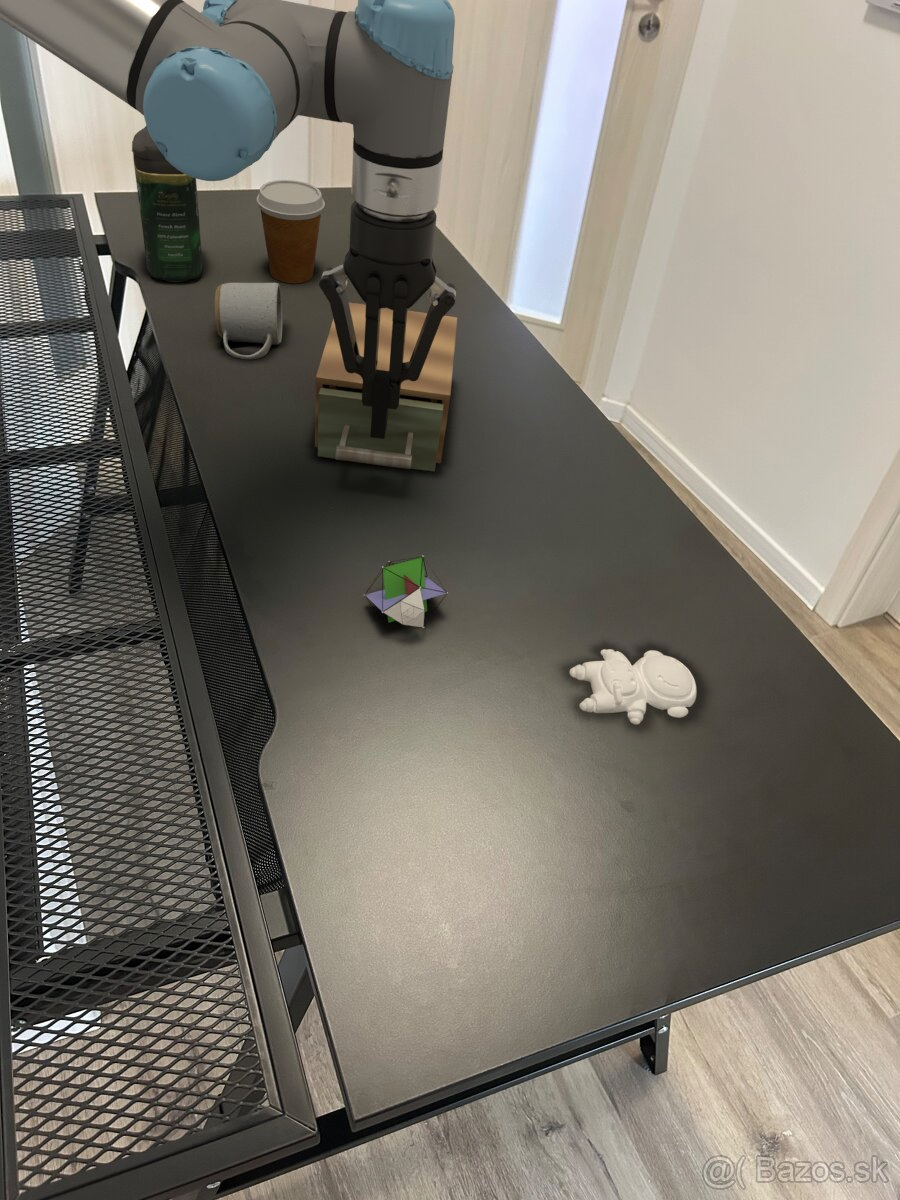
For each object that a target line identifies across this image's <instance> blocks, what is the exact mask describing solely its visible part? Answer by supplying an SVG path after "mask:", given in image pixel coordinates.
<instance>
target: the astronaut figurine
mask: <svg viewBox="0 0 900 1200" xmlns="http://www.w3.org/2000/svg"><path fill="white" fill-rule="evenodd" d="M600 655H601V656H602V658H603V660H595V661H594V660H593V661H592V660H591V661H585V662H583V663H582V664H577V665H575V666H573V667H572V668H570V669H569V675H570V676H571V677H572V678H575V679H576V680H579V681H584V682H588V683H590V688H591V691H592V694H591V695H590V697H585V698H584V699H583V701H581V702H580V703H579V709H581V710H582V711H583V712H587V713H594V714H614V713H616V714H617V713H623V712H626V713H627V718H628V720H629V722H630V723H631V724H632V725H640V724H641V722H642V721H643V720H644V716H645V714H646V711H647V704H648V705H650V706H651V707H653V708H654V709H655V708H656V709H658V710H661V711H665V710H666V711H667V714H668V715H669V716H671V717H673V718H680V719H681V718H684V717H686V716H687V715H688V714H689V709H688V708H690V707H692V706H693V705H694V703H695V702H696V699H697V685H696V684H697V683H696V680H695V678H694V676H693V674H692V672H691V670H690V669H689V668H688V667H687V666H686V665H685V664H683V663H682V662H681V661H679V660H678V659H677V658H675V657H673V656H668V655H664V654H663V653H662V652H661V651H658V650H653V649H651V650H647V651H645V653H643V657H641V658H639V659H637V661H636V662H635V663H633V665H632V664H631V661H630V660H629V659H628V658H627V657H626V655H624V654H623V653H622V652H621V651H618V650H616V651H615V650H614V649H612V648H611V649H610V648H608V649H605V648H604V649H601V650H600Z"/></svg>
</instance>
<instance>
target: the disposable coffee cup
mask: <svg viewBox="0 0 900 1200" xmlns="http://www.w3.org/2000/svg"><path fill="white" fill-rule="evenodd" d="M256 203H257V204H258V207H259V209H260V215H261V222H262V228H263V234H264V241H265V247H266V253H267V259H268V267H269V272H270V275H271V277H273V278H274V279H276V280H277V281H279V282H281V283H282V282H283V283H288V284H301V283H305V282H309V281H310V280H311V279H312V278H313V276H314V267H315V261H316V253H317V246H318V239H319V232H320V224H321V223H320V222H321V217H322V213H323V210H324V209H325V205H326V203H325V200H324V199H323V195H322V191H321V190H320V189H319V188H318V187H317V186H315V185H313V184H310V183H307V182H304V181H301V180H300V181H299V180H293V179H278V180H271V181H267V182H265V183H263V184H262V185H261V186H260V187H259V193H258V194H257V196H256Z"/></svg>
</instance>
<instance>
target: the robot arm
mask: <svg viewBox="0 0 900 1200" xmlns="http://www.w3.org/2000/svg"><path fill="white" fill-rule="evenodd" d="M0 20H1V21H2V22H4V23H5V24H6V25H8V26H9V27H11V28H13V29H14V30H15V31H17V32H19V33H20V34H22V35H23V36H24V37H26V38H28V39H29V40H31V41H32V42H34V43H35V44H36V45H38V46H40V47H41V48H43V49H44V50H46V51H47V52H49V53H51V54H52V55H53V56H55V57H57V58H58V59H59V60H61V61H63V62H64V63H66V64H67V65H68V66H70V67H71V68H72V69H75V70H76V71H78V72H79V73H80V74H82V75H84V76H85V77H87V78H88V79H89V80H91V81H92V82H94V83H96V84H98V86H100V87H101V88H103V89H105V90H106V91H107V92H109V93H111V94H112V95H114V96H115V97H117V98H118V99H120V100H121V101H123V102H124V103H126V104H127V105H129V106H130V107H131V108H132V109H134V110H136V112H138V113H140V114H141V115H142V116H143V118H144V122H145V126H147V129H148V132H149V134H150V136H151V138H152V140H153V142H154V143H155V144H156V145H157V147H158V148H159V150H160V151H161V153H162V154H163V155H164V156H165V159H166V160H167V161H168V162H169V163H170V164H171V165H172V166H174V167H175V168H176V169H178V170H179V171H181V172H182V173H184V174H186V175H188V176H190V177H193V178H196V180H200V181H205V182H221V181H224V180H225V181H226V180H229V179H230V178H233V177H235V176H237V175H238V174H240V173H241V172H243V171H244V170H246V169H247V168H248V167H250V166H253V164H255V163H256V162H259V161H260V160H261V158H262V157H263V155H264V154H265V153H266V152H267V151H269V150H270V148H271V147H272V145H273V142H274V141H275V140H276V138H278V136H279V135H280V134H281V133H282V132H283V131H285V130H286V129H287V128H288V127H289V126H290V124H292V122H294V120H295V119H296V118H297V117H298V116H299V117H300V116H301V117H308V118H311V119H316V120H317V119H318V120H323V121H324V120H325V121H329V122H335V123H340V124H341V123H345V124H346V123H347V124H350V125H352V130H353V131H352V132H353V138H352V166H351V188H350V189H351V191H350V193H351V197H352V199H353V200H354V201H353V202H352V203H351V204H350V219H349V220H350V221H349V249H348V251H347V253H346V255H345V256H344V260H343V262H342V264H340V265H338V266H336V267H334V268H332V267H330V266H327V267H325V268H324V269H323V271H322V274H321V276H320V280H319V283H318V285H319V288H320V290H321V291H322V293H323V295H324V296H325V298H326V299H327V301H328V302H329V305H330V309H331V314H332V320H333V319H334V323H335V327H336V332H337V336H338V340H339V345H340V349H341V353H342V358H343V362H344V366H345V370H346V371H347V372H348V373H356V374H358V375H360V376H361V377H362V379H363V387H362V403H363V406H371V407H372V419H371V435H370V437H372V438H380V439H384V438H385V433H386V427H387V417H388V409H397V407H398V406H399V400H400V390H401V383H402V382H403V381H405V380H410V381H416V380H418V378H419V376H420V373H421V371H422V368H423V366H424V363H425V360H426V358H427V355H428V353H429V350H430V348H431V345H432V343H433V340H434V337H435V335H436V332H437V330H438V327H439V325H440V322H441V320H442V318H443V317H444V316H446V315H447V313H448V312H450V310H451V309H452V308H453V307H454V306H455V304H456V298H457V287H456V285H455V284H453V283H445V282H444V281H443V280H442V279H441V278H439V277H438V276H437V268H436V265H435V263H434V260H433V254H434V245H435V234H436V226H437V213H436V211H435V209H436V208H437V206H438V204H439V198H440V191H441V189H440V187H441V179H442V172H443V171H442V170H443V161H444V147H445V138H446V129H447V120H448V111H449V104H450V97H451V86H452V79H453V74H454V64H453V58H454V57H453V56H454V43H455V42H454V41H455V40H454V39H455V26H456V16H455V11H454V8H453V6H452V4H451V3H450V2H449V0H357V6H356V7H355V8H354V11H352V10H348V11H343V10H336V9H330V8H326V7H319V6H314V5H309V4H305V3H300V2H299V3H298V2H294V1H288V0H204V2H203V5H202V11H198V10H197V9H196V8H194V7H193V6H191V5H190V4H188V3H187V2H185V1H184V0H0ZM348 280H349V282H350V283H351V285H352V286H353V289H355V291H356V292H357V294H358V296H359V297H360V299H361V300H362V301H363V302H364V303H365V305H366V313H365V318H366V322H365V341H364V357H362V356H360V354H359V349H358V344H357V340H356V335H355V330H354V326H353V321H352V316H351V312H350V307H349V298H348V294H347V287H348ZM428 290H430V293H429V304H430V305H429V308H428V310H427V312H426V313H427V316H426V318H425V321H424V324H423V326H422V329H421V332H420V334H419V337H418V340H417V342H416V345H415V348H414V350H413V353H412V355H411V358H410V361H409V362H404V363H403V358H404V346H405V334H406V322H407V311H409V309H410V308H412V307H413V306H414V305H415V304H416V303H417V302H419V300H420V298H421V297H423V295H425V293H427V291H428ZM381 308H388V309H391V310H393V320H392V321H393V324H392V338H391V352H390V366H389V371H384V370H377V363H378V346H379V331H380V316H381Z"/></svg>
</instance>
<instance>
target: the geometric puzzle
mask: <svg viewBox="0 0 900 1200" xmlns="http://www.w3.org/2000/svg"><path fill="white" fill-rule="evenodd" d="M399 561H400V559H398V560H396V562H397V563H394V560H392V561H390V560H388V562H387V563H386V564H385V565H384V566H381V569H380V570H379V572H378V574H377V575H376V577H375V579H374V580H373V581H372V583H371V584H370V586H369V587H368V589H367V590H366V592H365V593H364V594H363V597H365V598H366V600H367V601H368V603H369V604H370V605H371V607H372V608H373V610H374V611H375V613H376V614H377V616H378V617H380V615H379V614H378V612H377V611H376V609H375V608H374V606H375V607H376V608H377V609H378V610H379V611H381V613H382V616H383V618H384V621H385V624H386V627H387V628H389V625H388V624H389V623H392V622H395V621H396V622H397V623H399V624H400V625H403V626H409V627H413V628H412V630H413V629H414V630H415V629H416V628H421V629H425V626H426V624H427V622H425V615H426V614H425V613H427V612H428V605H429V599H432V598H436V597H439V596H442V595H444V596H443V597H442V599H441V600H440V602H439V603H438V604H437V606H436V607H435V608H434V610H433V611H432V612H431V614H432V615H431V616H430V617H429V619H431V617H432V616H433V615H434V613H435V611H436V610H437V609H438V607H439V606H440V604H441V603H442V602H443V600H444V599H445V598H446V596H447V595H448V594H449V592H448V591H447V590H446V588H444V586H443V584H442V582H441V581H440V579H439V578H438V576H437V575H436V573H435V572H434V570H433V569H432V568H431V566H430V565H429V563H428V562H427V560H426V559H425V555H421V556H416V557H413V558H412V557H410V558H408V559H406V558H403V559H402V561H400V562H399ZM425 561H426V563H425ZM426 564H427V565H428V567H429V568H430V570H431V571H432V572H433V574H434V575H435V577H436V578H437V580H438V581H439V583H440V584H441V585H438V584H437V583H436V582H435V581H433V579H431V578H430V577H429V576H428V572H427V568H426ZM381 574H382V575H381ZM380 575H381V590H378V591H374V592H371V593H368V592H369V590H371V588H372V587H373V585H374V584H375V582H376V581H377V580H378V579H379V577H380ZM441 586H442V587H441ZM443 588H444V589H443ZM372 604H373V605H374V606H373V605H372ZM385 615H386V616H387V620H386V617H385ZM414 627H415V628H414ZM406 630H407V628H405V629H402V631H406Z"/></svg>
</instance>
